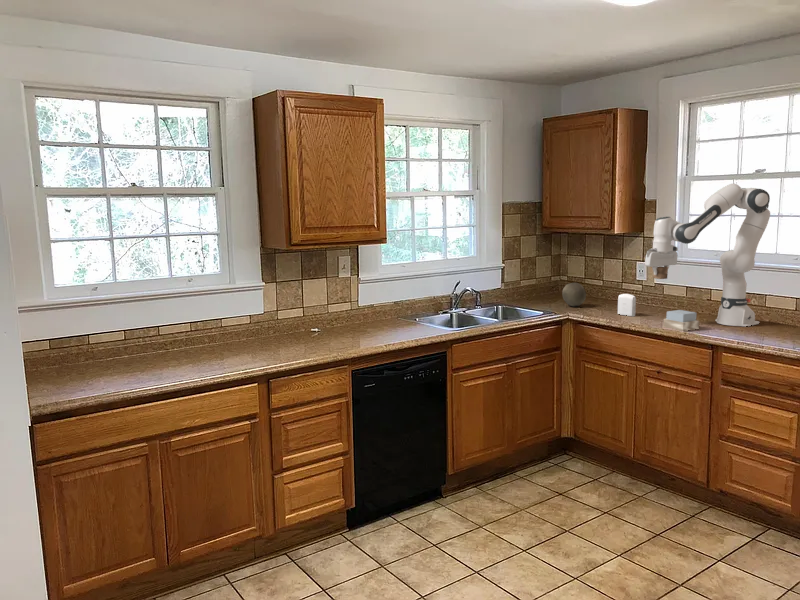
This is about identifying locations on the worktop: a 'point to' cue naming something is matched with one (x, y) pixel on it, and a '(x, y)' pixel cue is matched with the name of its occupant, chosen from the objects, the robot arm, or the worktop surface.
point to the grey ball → (574, 294)
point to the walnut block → (661, 273)
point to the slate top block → (681, 316)
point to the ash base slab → (681, 325)
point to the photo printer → (626, 304)
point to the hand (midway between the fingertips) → (660, 274)
